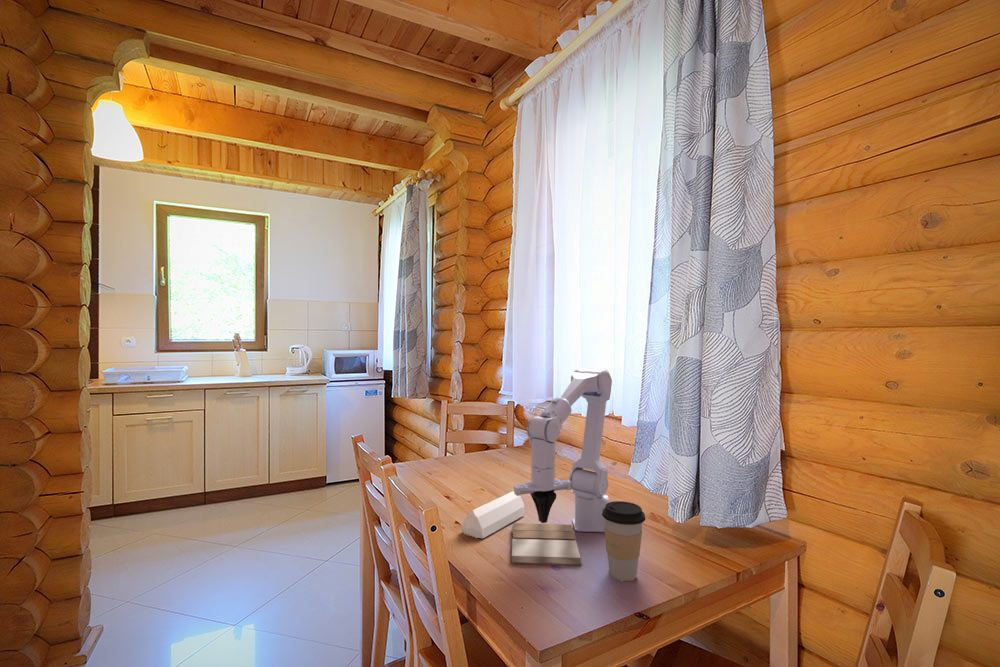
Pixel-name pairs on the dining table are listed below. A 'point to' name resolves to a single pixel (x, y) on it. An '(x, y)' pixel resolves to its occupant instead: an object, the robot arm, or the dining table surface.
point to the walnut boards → (543, 531)
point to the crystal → (493, 516)
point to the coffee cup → (623, 538)
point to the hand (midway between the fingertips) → (542, 521)
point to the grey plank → (545, 551)
